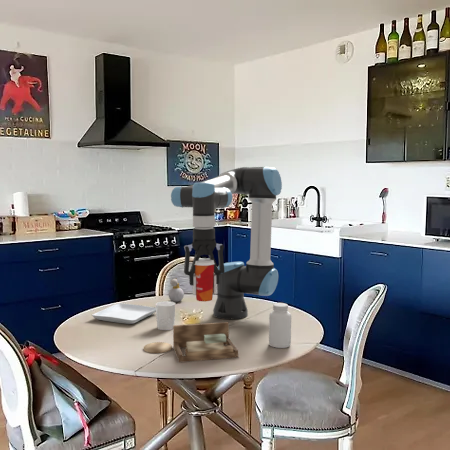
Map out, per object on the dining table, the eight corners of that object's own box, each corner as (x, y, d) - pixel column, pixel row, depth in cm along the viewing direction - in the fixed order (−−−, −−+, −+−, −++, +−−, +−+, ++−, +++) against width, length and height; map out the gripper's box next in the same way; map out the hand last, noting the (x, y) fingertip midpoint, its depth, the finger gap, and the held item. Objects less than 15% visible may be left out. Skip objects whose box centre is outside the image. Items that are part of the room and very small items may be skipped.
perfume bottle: (182, 299, 255) (182, 275, 254) (186, 303, 246) (186, 279, 245) (167, 300, 253) (167, 276, 252) (170, 305, 244) (170, 280, 243)
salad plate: (133, 327, 209) (133, 319, 208) (90, 322, 217) (90, 314, 216) (159, 314, 228) (159, 307, 228) (119, 309, 236) (118, 302, 236)
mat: (170, 342, 189) (170, 341, 189) (173, 352, 179) (173, 350, 179) (142, 344, 187) (142, 343, 187) (144, 354, 177) (144, 352, 177)
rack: (227, 343, 189) (227, 321, 188) (238, 357, 174) (238, 334, 173) (173, 347, 184) (173, 325, 183) (179, 362, 170) (179, 338, 169)
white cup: (172, 331, 203) (171, 306, 202) (153, 330, 204) (152, 305, 203) (177, 325, 211) (177, 301, 210) (159, 324, 212) (159, 300, 211)
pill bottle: (285, 350, 181) (285, 308, 180) (265, 346, 186) (265, 305, 184) (294, 343, 188) (295, 303, 187) (274, 340, 192) (275, 300, 191)
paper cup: (193, 296, 182) (192, 257, 181) (214, 296, 183) (214, 257, 181) (193, 302, 175) (193, 261, 173) (216, 302, 175) (215, 261, 174)
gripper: (228, 225, 182) (229, 289, 184) (174, 227, 178) (175, 293, 180) (234, 228, 175) (234, 294, 177) (177, 229, 170) (178, 298, 173)
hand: (204, 293), depth 179 cm, fingers closed on paper cup, 6 cm apart
